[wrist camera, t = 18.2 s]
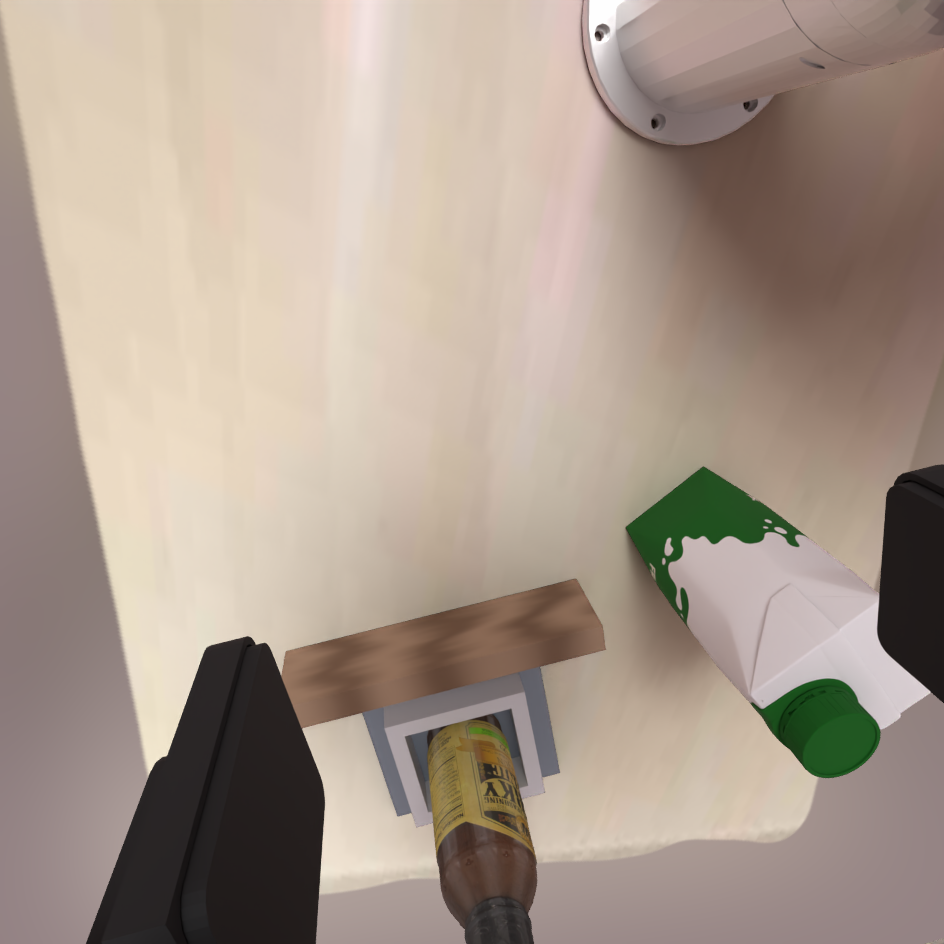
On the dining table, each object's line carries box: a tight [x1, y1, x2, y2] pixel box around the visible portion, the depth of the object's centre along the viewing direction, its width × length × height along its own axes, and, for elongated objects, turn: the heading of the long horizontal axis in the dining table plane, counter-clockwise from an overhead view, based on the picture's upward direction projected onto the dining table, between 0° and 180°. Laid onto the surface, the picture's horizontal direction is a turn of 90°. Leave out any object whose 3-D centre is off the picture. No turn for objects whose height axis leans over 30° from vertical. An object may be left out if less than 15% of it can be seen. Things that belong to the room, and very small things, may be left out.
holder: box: [363, 667, 560, 827], centre depth 51 cm, size 14×14×4 cm
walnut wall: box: [281, 579, 606, 728], centre depth 46 cm, size 22×2×6 cm, turn 101°
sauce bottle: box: [427, 714, 537, 944], centre depth 43 cm, size 6×6×20 cm
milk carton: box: [626, 467, 931, 778], centre depth 40 cm, size 9×9×20 cm
